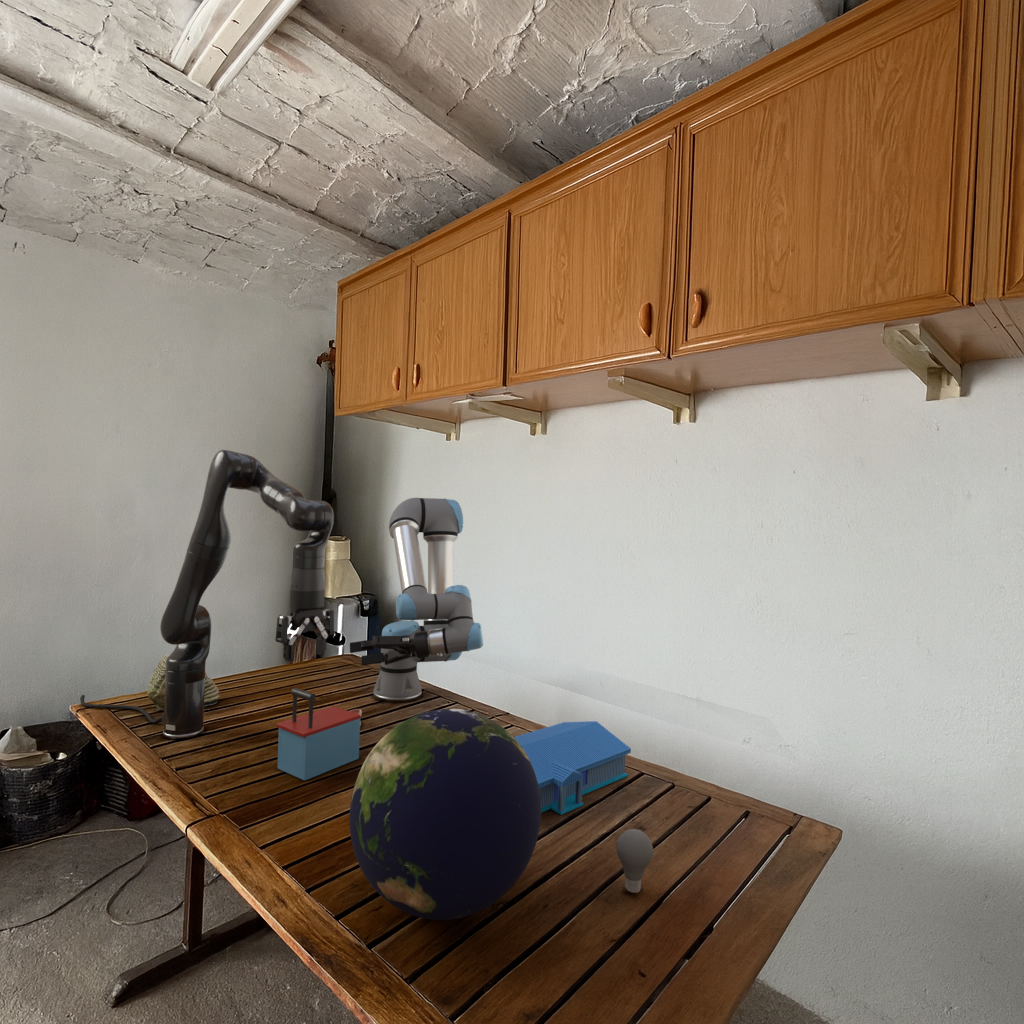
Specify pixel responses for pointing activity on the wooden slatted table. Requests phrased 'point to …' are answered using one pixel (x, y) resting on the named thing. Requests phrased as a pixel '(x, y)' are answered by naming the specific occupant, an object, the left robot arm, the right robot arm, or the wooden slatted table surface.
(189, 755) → the wooden slatted table surface
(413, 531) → the right robot arm
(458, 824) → the globe
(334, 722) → the lid
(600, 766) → the model building
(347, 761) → the chest
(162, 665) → the fossil
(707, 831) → the wooden slatted table surface
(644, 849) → the light bulb
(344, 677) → the wooden slatted table surface
